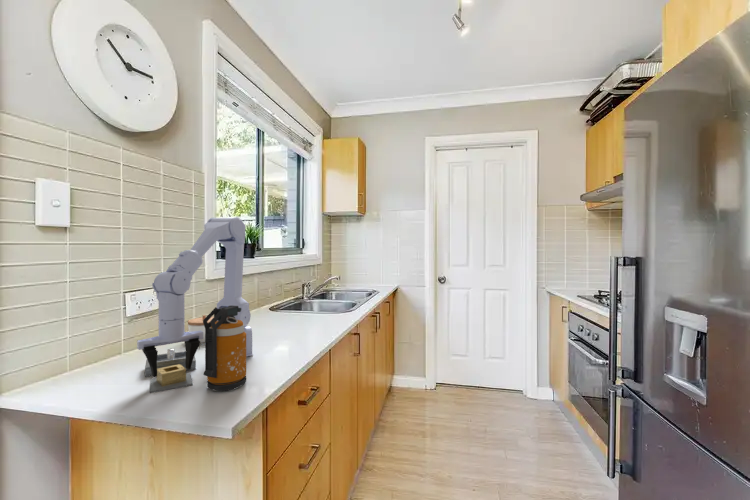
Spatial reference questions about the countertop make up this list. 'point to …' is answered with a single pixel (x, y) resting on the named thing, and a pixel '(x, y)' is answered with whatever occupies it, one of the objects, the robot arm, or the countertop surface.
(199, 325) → the lidded jar
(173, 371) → the brass square ring
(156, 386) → the rubber mat
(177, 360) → the block
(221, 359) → the canister
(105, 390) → the countertop surface
